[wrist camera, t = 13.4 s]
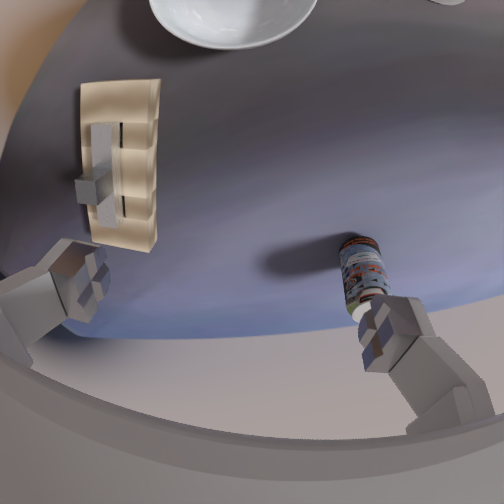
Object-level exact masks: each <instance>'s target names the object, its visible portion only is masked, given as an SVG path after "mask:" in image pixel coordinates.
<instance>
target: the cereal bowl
mask: <svg viewBox="0 0 504 504" xmlns="http://www.w3.org/2000/svg"><path fill="white" fill-rule="evenodd" d="M316 2H317V0H149V3H150V7H151V9H152V12H153V14H154V15H155V17H156V19H157V20H158V21H159V23H160V24H161V25H162V26H163V27H164V28H165V29H166V30H167V31H169V32H170V33H172V34H173V35H174V36H176V37H178V38H180V39H181V40H183V41H186V42H188V43H191V44H193V45H196V46H200V47H204V48H209V49H217V50H245V49H251V48H256V47H260V46H263V45H266V44H269V43H272V42H274V41H276V40H279V39H280V38H283V37H284V36H286V35H288V34H289V33H291V32H292V31H293V30H295V29H296V28H297V27H298V26H299V25H300V24H301V23H302V22H303V21H304V20H305V19H306V18H307V17H308V16H309V14H310V13H311V11H312V10H313V8H314V7H315V4H316Z"/></svg>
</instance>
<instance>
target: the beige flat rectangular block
mask: <svg viewBox="0 0 504 504" xmlns="http://www.w3.org/2000/svg"><path fill="white" fill-rule="evenodd" d="M160 87H161V79H122V80H105V81H95V82H89V83H83V84H81V104H80V117H81V148H82V163H83V173H85V172H86V171H88V170H89V169H91V168H92V167H93V165H92V147H91V124H94V123H96V122H99V121H120V122H123V141H121V142H120V177H121V195H122V196H124V197H125V210H124V211H123V220H124V222H123V223H122V224H121V225H120V226H119V228H118V229H115V228H109V227H103V226H99V222H98V215H97V207H96V206H95V205H88V204H87V209H88V216H89V223H90V229H91V235H92V240H93V242H97V243H102V244H107V245H112V246H117V247H122V248H127V249H132V250H137V251H143V252H148V253H149V252H150V250H151V249H152V247H153V246H154V244H155V242H156V241H157V221H156V154H157V129H158V112H159V98H160Z"/></svg>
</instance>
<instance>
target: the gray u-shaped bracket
mask: <svg viewBox="0 0 504 504" xmlns="http://www.w3.org/2000/svg"><path fill="white" fill-rule="evenodd" d="M121 141H123V122H120V121H99V122H96V123H94V124H91V147H92V165H93V167H92V168H91V169H89V170H88V171H86V172H85V173H83V174H82V175H81V176H79V177H78V178H76V179H75V187H76V195H77V202H78V203H81V204H88V205H95V206H96V207H97V215H98V222H99V226H103V227H109V228H115V229H118V228H119V226H120V225H121V224H122V223H123V222H124V220H123V211H124V210H125V197H124V196H122V195H121V177H120V142H121Z"/></svg>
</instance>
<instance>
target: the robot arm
mask: <svg viewBox="0 0 504 504" xmlns="http://www.w3.org/2000/svg"><path fill="white" fill-rule="evenodd" d="M431 1H434V2H436V3H440V4H445V5H457V4H460V3H462V2H464V1H465V0H431ZM106 258H107V255H106V251H105V248H104V247H102V246H100V245H96V244H91V243H87V242H83V241H78V240H73V239H69V238H62V239H60V240H59V241H58V243H57V244H56V245H55V246H54V247H53V248H52V249H51V250H50V251H49V252H48V253H47V254H46V255H45V256H44V257H43V258H42V260H41V261H40V262H39V263H38V264H37V265H36V266H35V267H32V266H31V267H29V268H27V269H25V270H22V271H20V272H18V273H16V274H14V275H12V276H10V277H8V278H6V279H4V280H2V281H0V504H504V413H502V414H499V415H495V412H494V409H493V406H492V402H491V399H490V396H489V393H488V390H487V387H486V384H485V382H484V381H483V380H482V379H481V378H480V377H479V376H478V375H477V374H476V372H475V371H474V370H473V369H472V368H471V367H470V366H469V365H468V364H467V363H466V362H465V361H464V360H462V358H461V357H460V356H459V355H458V354H456V352H455V351H454V350H453V349H452V348H451V347H450V346H448V345H447V344H446V342H445V341H444V340H442V339H441V338H440V337H436V335H435V332H434V330H433V327H432V325H431V323H430V320H429V318H428V316H427V313H426V311H425V309H424V306H423V304H422V302H421V300H419V299H418V298H413V297H401V296H393V295H386V294H379V293H377V294H376V295H375V296H373V298H372V300H371V302H370V305H371V309H370V310H368V311H367V312H365V313H364V314H363V316H362V318H361V320H360V324H359V328H358V337H359V342H360V343H361V344H362V345H363V347H364V348H365V349H364V351H363V353H362V358H363V363H364V369H365V372H380V373H381V372H382V373H389V376H390V377H391V379H392V380H393V382H394V383H395V385H396V386H397V387H398V389H399V390H400V391H401V393H402V395H403V396H404V397H405V399H406V400H407V402H408V403H409V405H410V406H411V408H412V409H413V411H414V412H415V413H416V415H417V416H418V418H417V419H415V420H414V421H413V422H411V423H410V424H409V425H408V426H407V427H406V432H407V435H400V436H391V437H381V438H367V439H350V440H349V439H348V440H309V439H307V440H306V439H288V438H274V437H263V436H254V435H245V434H238V433H231V432H224V431H218V430H212V429H206V428H202V427H196V426H191V425H187V424H182V423H178V422H174V421H170V420H166V419H162V418H158V417H154V416H151V415H147V414H143V413H140V412H136V411H133V410H130V409H127V408H124V407H121V406H118V405H115V404H112V403H109V402H106V401H103V400H101V399H98V398H95V397H93V396H90V395H88V394H85V393H83V392H80V391H78V390H75V389H73V388H71V387H68V386H66V385H64V384H62V383H59V382H57V381H55V380H53V379H51V378H49V377H46V376H44V375H42V374H40V373H38V372H36V371H34V370H32V369H31V366H32V364H33V359H32V358H31V356H30V354H29V353H28V352H27V350H26V348H27V347H29V346H30V345H31V344H33V343H34V342H35V341H37V340H38V339H39V338H41V337H42V336H44V335H45V334H46V333H48V332H49V331H50V330H52V329H53V328H55V327H56V326H57V325H59V324H60V323H61V322H63V321H64V320H66V319H67V317H69V318H72V319H75V320H79V321H82V322H86V323H89V322H90V321H91V319H92V317H93V316H94V314H95V312H96V311H97V309H98V305H97V302H98V301H99V300H101V299H103V298H104V297H105V295H106V294H107V292H108V289H109V286H110V271H109V268H108V267H107V266H106V264H105V263H104V262H105V260H106Z"/></svg>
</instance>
